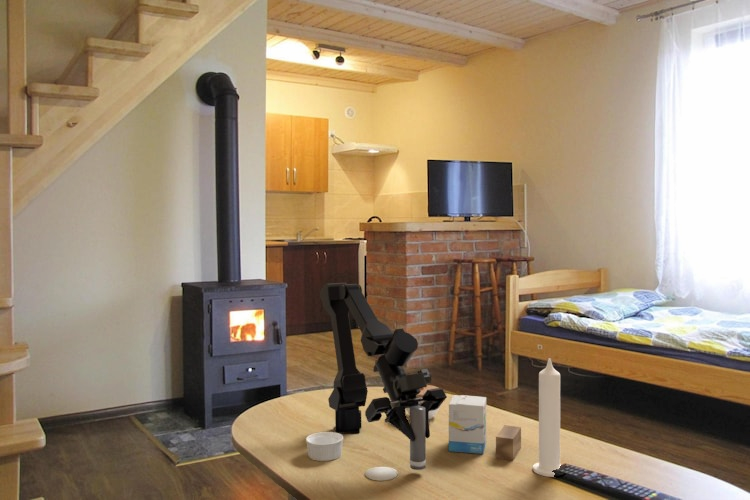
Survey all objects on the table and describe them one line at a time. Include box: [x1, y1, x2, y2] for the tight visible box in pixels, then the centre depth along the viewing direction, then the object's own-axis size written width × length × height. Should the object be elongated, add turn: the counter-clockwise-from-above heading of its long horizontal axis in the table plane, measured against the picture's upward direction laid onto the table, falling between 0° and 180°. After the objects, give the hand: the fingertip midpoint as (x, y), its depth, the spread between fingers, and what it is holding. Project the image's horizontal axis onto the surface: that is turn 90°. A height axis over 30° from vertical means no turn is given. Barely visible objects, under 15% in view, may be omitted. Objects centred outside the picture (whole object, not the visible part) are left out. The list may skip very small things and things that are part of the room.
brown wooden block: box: [495, 425, 522, 461], centre depth 149 cm, size 4×9×5 cm, turn 156°
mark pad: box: [364, 466, 398, 482], centre depth 138 cm, size 7×7×1 cm
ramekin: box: [305, 431, 344, 462], centre depth 149 cm, size 9×9×4 cm
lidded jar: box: [405, 384, 441, 420], centre depth 178 cm, size 11×11×9 cm
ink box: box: [448, 394, 487, 455], centre depth 154 cm, size 8×8×12 cm
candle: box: [532, 357, 562, 478], centre depth 138 cm, size 7×7×25 cm
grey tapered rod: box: [409, 406, 427, 471], centre depth 137 cm, size 4×4×13 cm
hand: (421, 438), depth 136 cm, fingers closed on grey tapered rod, 3 cm apart
